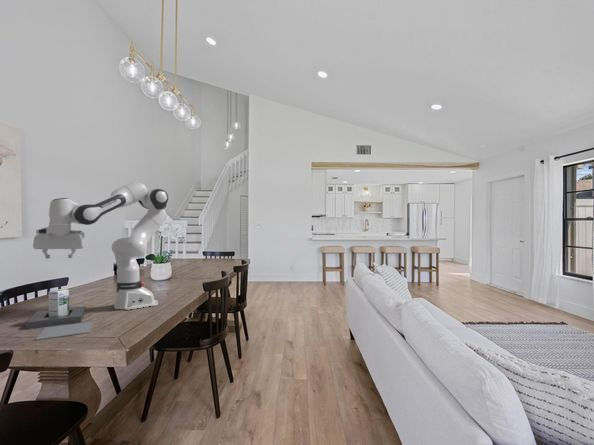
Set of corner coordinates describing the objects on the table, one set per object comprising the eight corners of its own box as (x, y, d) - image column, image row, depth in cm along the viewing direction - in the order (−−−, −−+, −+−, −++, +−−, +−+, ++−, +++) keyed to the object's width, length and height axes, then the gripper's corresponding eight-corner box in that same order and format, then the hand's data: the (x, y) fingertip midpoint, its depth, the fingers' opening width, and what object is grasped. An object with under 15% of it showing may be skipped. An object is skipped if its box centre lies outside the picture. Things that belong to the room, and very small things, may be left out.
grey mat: (92, 322, 146) (92, 321, 146) (89, 332, 132) (89, 332, 132) (44, 328, 137) (44, 327, 137) (35, 340, 123) (35, 339, 123)
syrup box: (58, 322, 147) (58, 291, 147) (48, 321, 148) (48, 291, 148) (69, 318, 152) (69, 289, 152) (59, 317, 153) (59, 288, 154)
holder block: (85, 311, 164) (85, 306, 164) (80, 322, 146) (80, 316, 146) (37, 317, 154) (37, 311, 154) (26, 329, 136) (26, 322, 136)
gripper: (86, 230, 159) (85, 257, 158) (37, 230, 151) (37, 258, 151) (82, 230, 153) (82, 258, 153) (31, 230, 146) (31, 259, 145)
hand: (59, 258), depth 152 cm, fingers open, 8 cm apart
